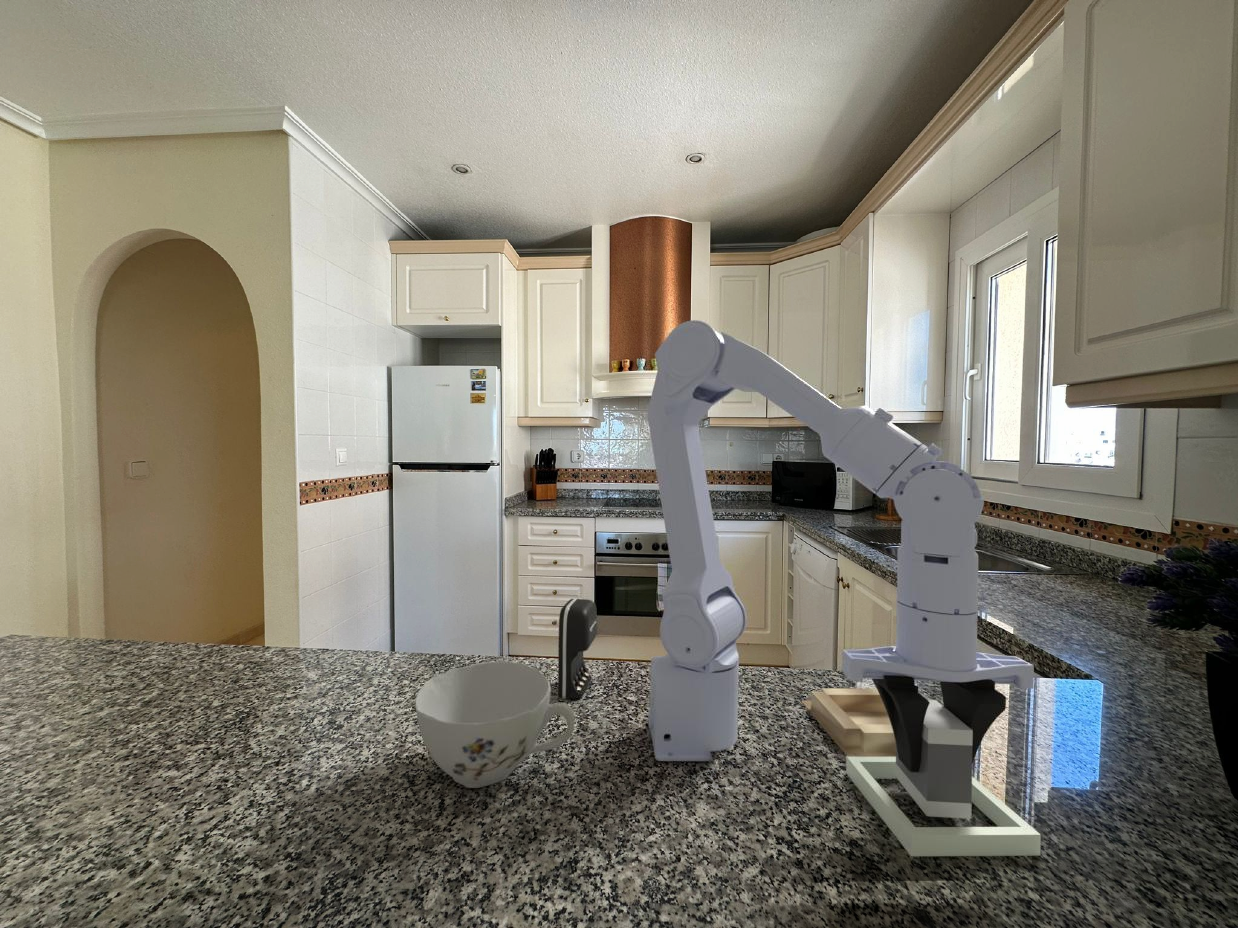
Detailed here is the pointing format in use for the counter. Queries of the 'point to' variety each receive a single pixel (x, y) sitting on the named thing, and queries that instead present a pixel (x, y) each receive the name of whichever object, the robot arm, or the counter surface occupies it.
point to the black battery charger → (575, 646)
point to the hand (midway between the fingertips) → (933, 766)
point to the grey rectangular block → (941, 766)
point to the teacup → (487, 719)
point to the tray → (945, 841)
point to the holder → (855, 721)
